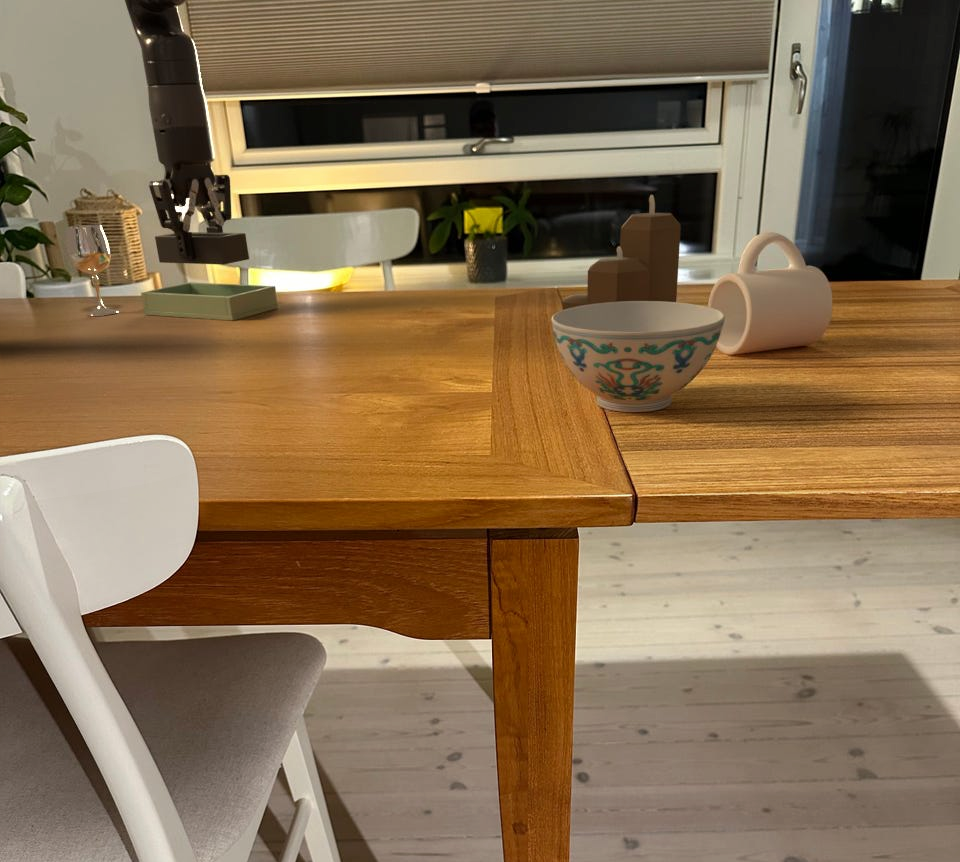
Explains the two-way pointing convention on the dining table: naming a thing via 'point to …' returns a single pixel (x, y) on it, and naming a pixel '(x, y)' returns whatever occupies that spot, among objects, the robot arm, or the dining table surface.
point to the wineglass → (90, 256)
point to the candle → (637, 263)
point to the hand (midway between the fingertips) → (203, 256)
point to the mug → (771, 301)
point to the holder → (210, 301)
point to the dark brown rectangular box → (205, 248)
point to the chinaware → (636, 349)
